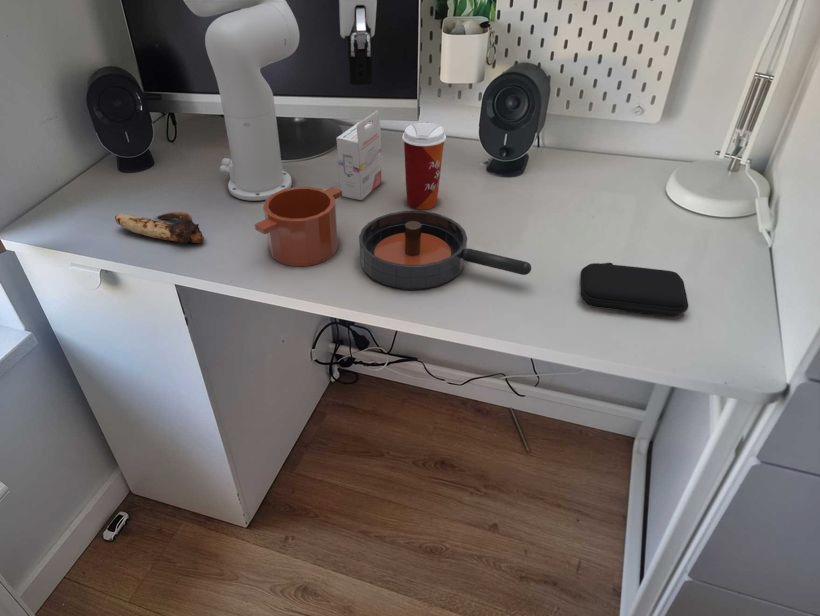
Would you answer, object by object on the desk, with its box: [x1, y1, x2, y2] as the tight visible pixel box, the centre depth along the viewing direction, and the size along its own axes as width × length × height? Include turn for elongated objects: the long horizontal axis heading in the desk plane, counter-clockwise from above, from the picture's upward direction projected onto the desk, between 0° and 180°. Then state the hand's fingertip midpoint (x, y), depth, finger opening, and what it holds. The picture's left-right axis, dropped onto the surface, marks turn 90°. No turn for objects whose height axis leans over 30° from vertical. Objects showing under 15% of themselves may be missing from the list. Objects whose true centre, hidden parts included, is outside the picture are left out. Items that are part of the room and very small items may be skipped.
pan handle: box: [462, 247, 532, 276], centre depth 98 cm, size 11×2×2 cm, turn 62°
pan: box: [358, 210, 468, 290], centre depth 105 cm, size 17×17×4 cm
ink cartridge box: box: [335, 109, 382, 201], centre depth 121 cm, size 9×5×15 cm, turn 150°
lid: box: [374, 221, 451, 265], centre depth 104 cm, size 13×13×6 cm
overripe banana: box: [114, 211, 205, 244], centre depth 115 cm, size 9×5×18 cm
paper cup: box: [401, 122, 447, 211], centre depth 116 cm, size 8×8×14 cm
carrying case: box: [579, 262, 689, 317], centre depth 96 cm, size 11×3×15 cm
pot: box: [254, 186, 343, 267], centre depth 108 cm, size 12×17×8 cm
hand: (359, 72), depth 97 cm, fingers open, 9 cm apart
